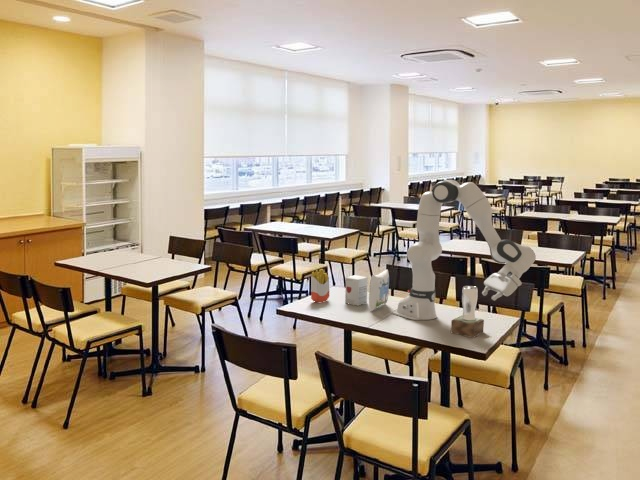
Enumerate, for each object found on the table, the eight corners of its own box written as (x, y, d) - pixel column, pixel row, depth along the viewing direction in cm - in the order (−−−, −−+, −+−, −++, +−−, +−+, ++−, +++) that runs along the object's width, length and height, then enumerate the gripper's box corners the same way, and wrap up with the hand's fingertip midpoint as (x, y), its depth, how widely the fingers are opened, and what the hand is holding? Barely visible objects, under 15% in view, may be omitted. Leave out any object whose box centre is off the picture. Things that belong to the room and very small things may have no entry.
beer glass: (461, 316, 273) (463, 285, 271) (476, 317, 271) (478, 286, 268) (460, 320, 266) (461, 288, 264) (475, 321, 264) (477, 289, 262)
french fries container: (329, 300, 326) (330, 269, 323) (317, 304, 318) (317, 272, 315) (323, 299, 329) (324, 268, 326) (310, 302, 321) (311, 271, 318)
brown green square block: (450, 332, 268) (451, 319, 267) (461, 327, 277) (461, 314, 276) (473, 337, 261) (473, 323, 260) (483, 332, 270) (483, 318, 269)
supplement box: (344, 303, 320) (345, 277, 318) (354, 300, 327) (354, 274, 324) (357, 306, 314) (358, 279, 312) (367, 303, 321) (367, 276, 319)
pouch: (363, 310, 305) (364, 273, 302) (380, 303, 321) (381, 268, 318) (376, 313, 301) (377, 275, 298) (393, 305, 317) (394, 269, 314)
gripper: (493, 267, 278) (473, 287, 278) (515, 275, 258) (494, 297, 258) (501, 275, 280) (481, 296, 279) (523, 284, 260) (502, 306, 259)
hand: (487, 297), depth 268 cm, fingers open, 8 cm apart
